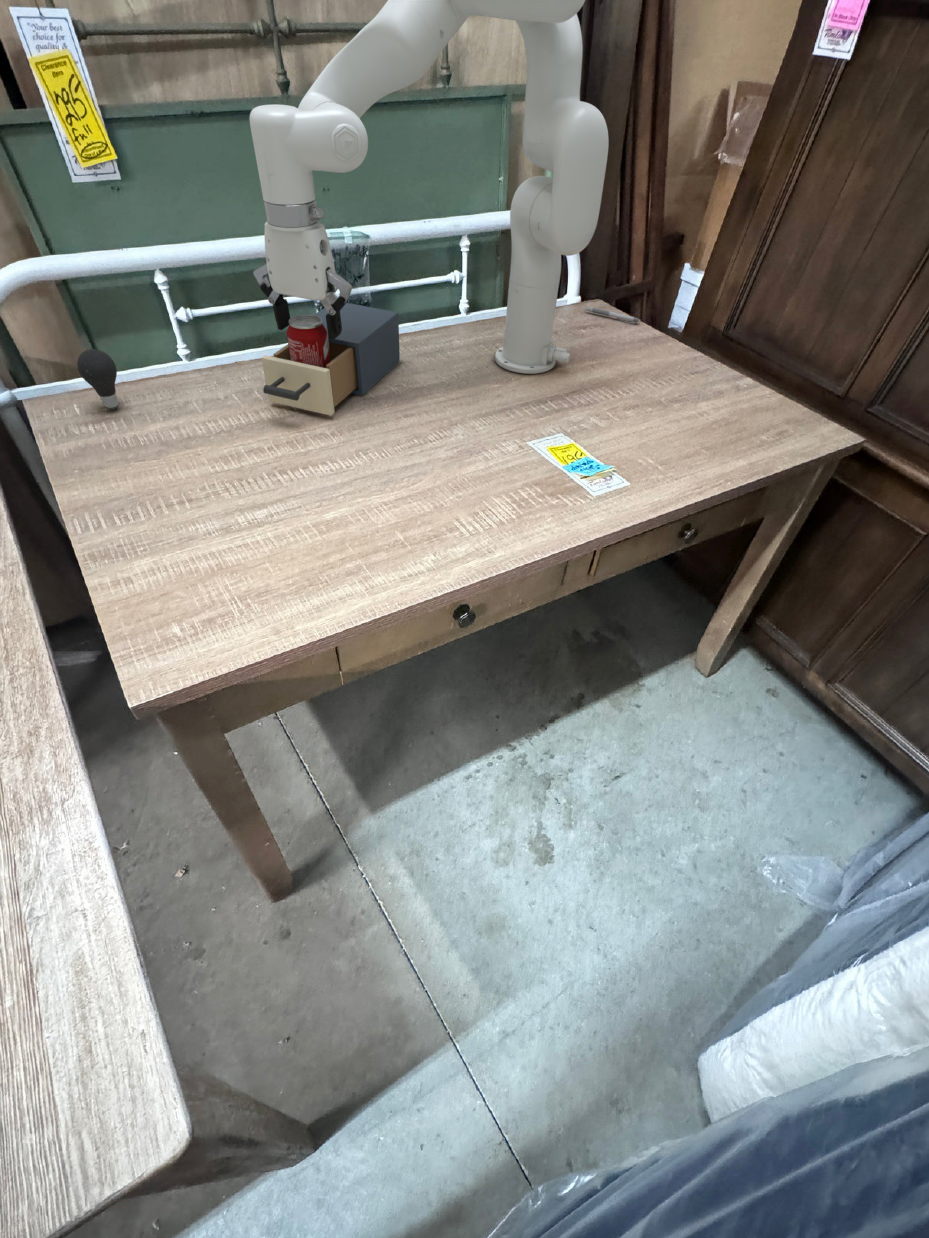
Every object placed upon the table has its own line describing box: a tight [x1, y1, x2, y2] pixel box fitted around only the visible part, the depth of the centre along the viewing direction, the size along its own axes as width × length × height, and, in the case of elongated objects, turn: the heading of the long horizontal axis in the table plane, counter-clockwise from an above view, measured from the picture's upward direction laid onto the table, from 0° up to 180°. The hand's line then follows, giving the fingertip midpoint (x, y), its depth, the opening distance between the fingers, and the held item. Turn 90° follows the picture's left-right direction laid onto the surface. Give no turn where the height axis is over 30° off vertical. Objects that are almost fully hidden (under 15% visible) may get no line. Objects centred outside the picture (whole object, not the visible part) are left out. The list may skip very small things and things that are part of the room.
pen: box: [584, 306, 641, 325], centre depth 147 cm, size 1×14×1 cm, turn 62°
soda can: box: [285, 314, 331, 368], centre depth 106 cm, size 7×7×12 cm
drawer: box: [260, 342, 358, 417], centre depth 108 cm, size 21×12×8 cm, turn 160°
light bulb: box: [76, 348, 119, 410], centre depth 103 cm, size 6×6×10 cm
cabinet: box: [313, 302, 401, 397], centre depth 117 cm, size 17×14×10 cm
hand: (309, 331), depth 103 cm, fingers open, 9 cm apart
